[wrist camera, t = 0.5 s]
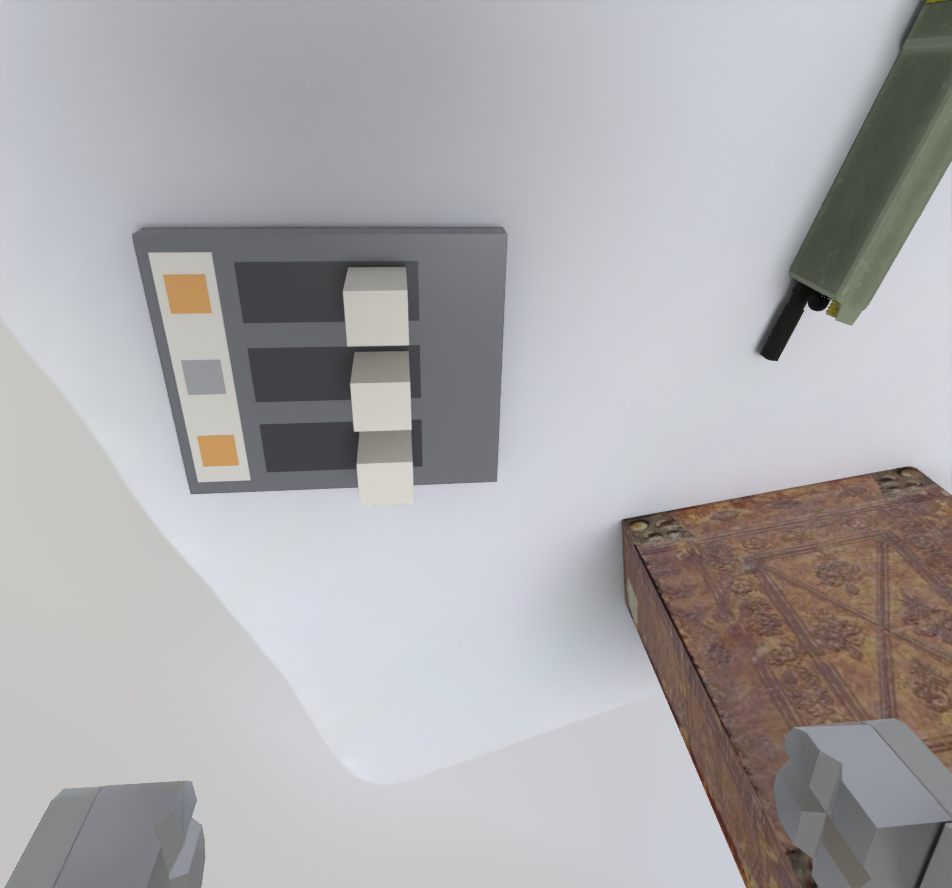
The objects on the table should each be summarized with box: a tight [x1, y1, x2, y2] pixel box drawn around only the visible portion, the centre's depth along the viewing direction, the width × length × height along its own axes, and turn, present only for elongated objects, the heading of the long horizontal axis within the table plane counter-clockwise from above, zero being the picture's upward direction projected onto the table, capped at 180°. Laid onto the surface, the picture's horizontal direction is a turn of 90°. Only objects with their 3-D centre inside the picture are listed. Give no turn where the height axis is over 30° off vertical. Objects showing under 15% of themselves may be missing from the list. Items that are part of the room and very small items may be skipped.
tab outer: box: [357, 430, 414, 506], centre depth 45 cm, size 3×4×5 cm
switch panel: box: [132, 227, 507, 494], centre depth 45 cm, size 18×22×2 cm
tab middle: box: [350, 351, 412, 432], centre depth 42 cm, size 3×4×5 cm
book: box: [623, 467, 952, 888], centre depth 45 cm, size 25×9×30 cm, turn 99°
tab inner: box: [343, 267, 409, 347], centre depth 39 cm, size 3×4×5 cm
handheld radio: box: [760, 0, 952, 361], centre depth 41 cm, size 7×3×25 cm
